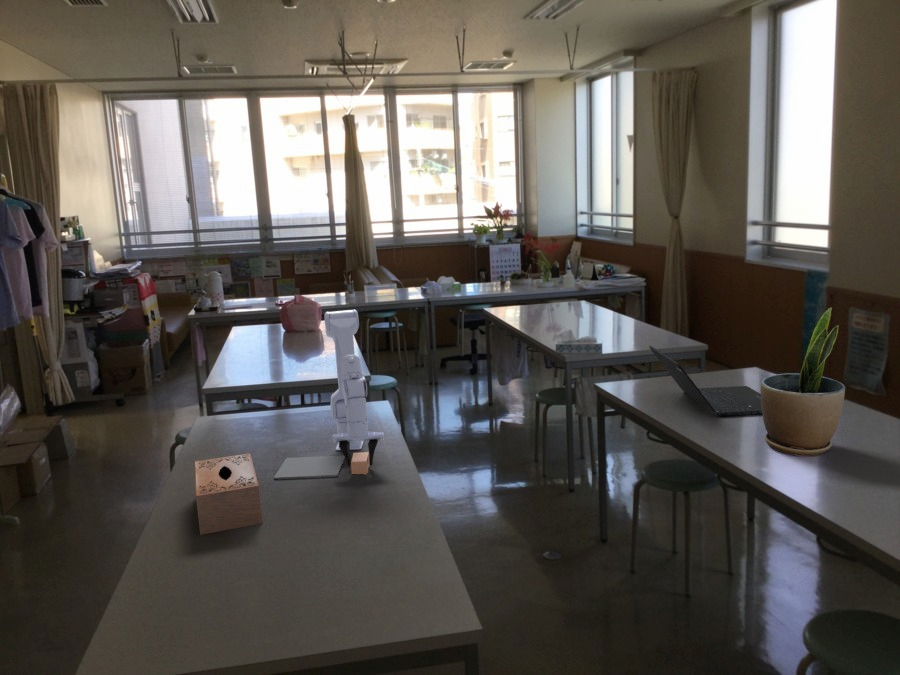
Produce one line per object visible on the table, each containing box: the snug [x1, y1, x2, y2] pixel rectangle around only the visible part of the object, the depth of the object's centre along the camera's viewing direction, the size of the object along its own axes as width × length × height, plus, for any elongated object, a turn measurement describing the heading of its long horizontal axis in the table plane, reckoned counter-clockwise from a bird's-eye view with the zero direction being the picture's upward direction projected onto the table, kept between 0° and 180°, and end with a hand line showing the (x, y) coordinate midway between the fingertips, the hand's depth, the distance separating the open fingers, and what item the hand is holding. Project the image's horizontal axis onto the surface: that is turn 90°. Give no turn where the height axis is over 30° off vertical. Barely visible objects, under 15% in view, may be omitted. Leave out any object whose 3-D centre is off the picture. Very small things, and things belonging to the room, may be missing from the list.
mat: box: [273, 454, 346, 480], centre depth 214 cm, size 16×18×1 cm
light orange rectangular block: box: [350, 451, 370, 475], centre depth 211 cm, size 8×4×4 cm, turn 2°
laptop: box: [649, 345, 763, 417], centre depth 257 cm, size 33×38×19 cm
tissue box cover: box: [194, 452, 263, 535], centre depth 187 cm, size 26×14×10 cm, turn 19°
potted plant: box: [760, 307, 846, 457], centre depth 208 cm, size 21×22×40 cm
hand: (360, 464), depth 211 cm, fingers open, 6 cm apart
